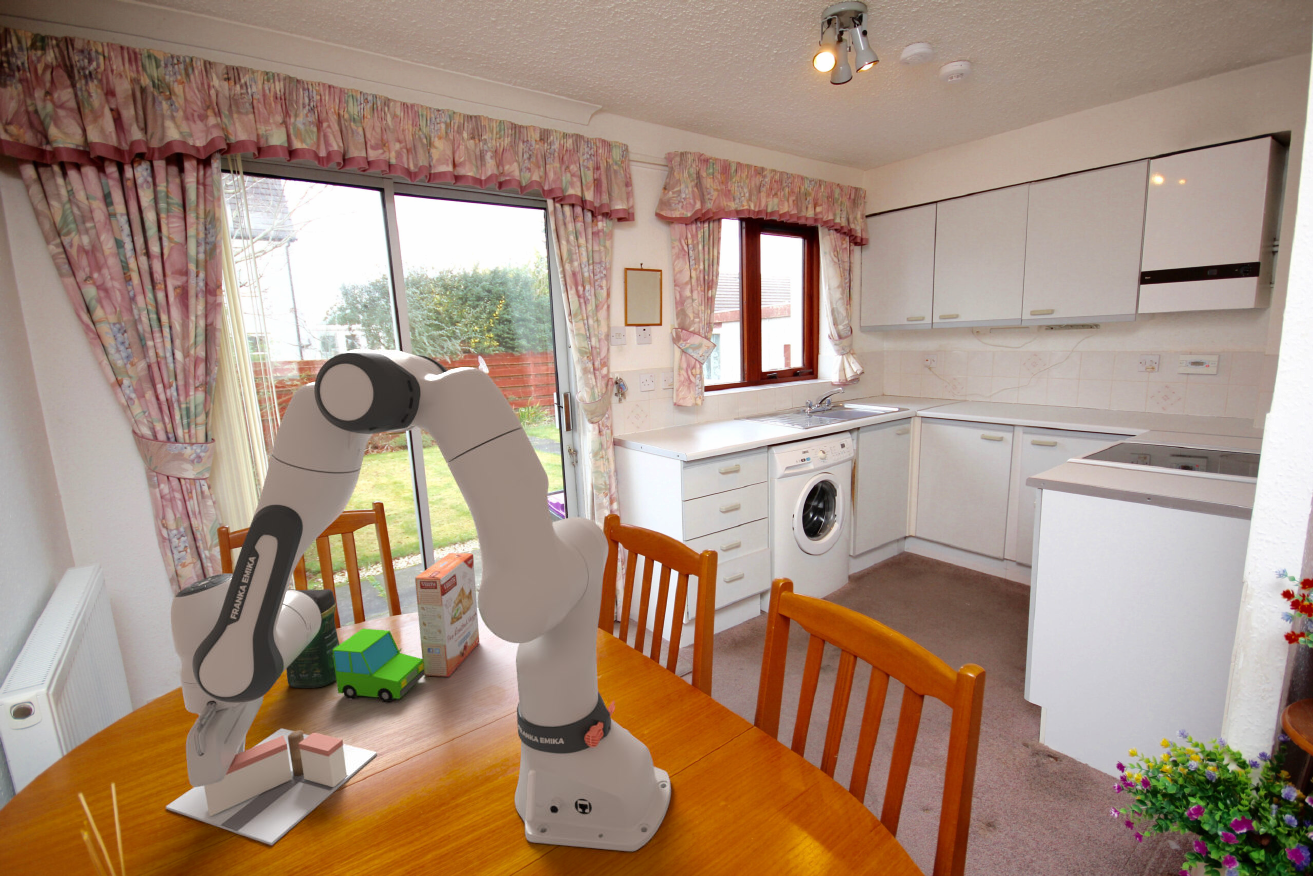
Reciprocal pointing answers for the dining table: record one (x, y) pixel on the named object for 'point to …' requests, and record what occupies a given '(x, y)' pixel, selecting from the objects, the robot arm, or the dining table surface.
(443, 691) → the dining table surface
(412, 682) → the toy car
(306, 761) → the fixed fence panel
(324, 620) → the coffee jar
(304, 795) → the card
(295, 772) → the hinge post
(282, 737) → the folding fence panel
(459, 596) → the cracker box
